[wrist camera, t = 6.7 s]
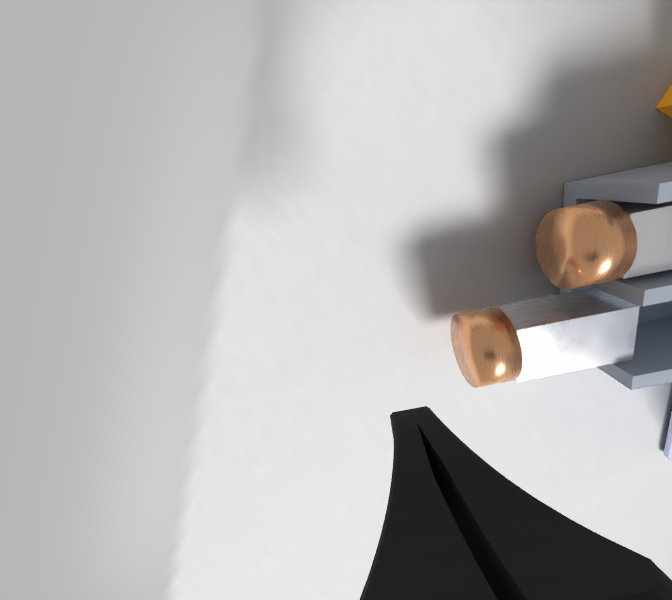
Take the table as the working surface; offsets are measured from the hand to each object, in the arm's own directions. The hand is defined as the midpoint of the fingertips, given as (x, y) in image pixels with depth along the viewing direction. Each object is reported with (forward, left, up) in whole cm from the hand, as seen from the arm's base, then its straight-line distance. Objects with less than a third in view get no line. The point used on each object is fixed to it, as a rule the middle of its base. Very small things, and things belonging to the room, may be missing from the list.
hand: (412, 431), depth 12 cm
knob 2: (-1, -9, -8) cm, 12 cm away
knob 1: (+3, -14, -8) cm, 16 cm away
